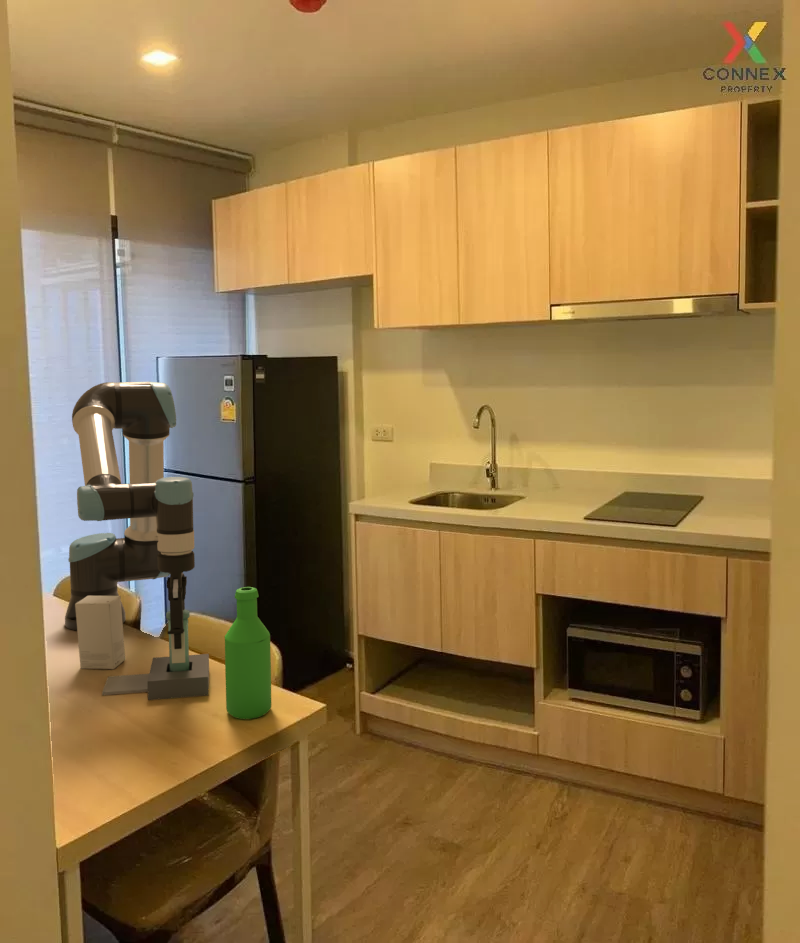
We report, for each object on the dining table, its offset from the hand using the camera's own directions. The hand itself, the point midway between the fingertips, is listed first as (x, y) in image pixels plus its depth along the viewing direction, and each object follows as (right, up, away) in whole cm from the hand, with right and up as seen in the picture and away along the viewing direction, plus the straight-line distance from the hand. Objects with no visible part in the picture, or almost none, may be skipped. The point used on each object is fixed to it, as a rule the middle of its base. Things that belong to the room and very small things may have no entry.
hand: (179, 658), depth 174 cm
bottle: (+17, -8, -13) cm, 23 cm away
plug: (0, -6, +1) cm, 6 cm away
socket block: (0, -6, +1) cm, 6 cm away
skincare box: (-21, -5, +12) cm, 25 cm away
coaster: (-11, -6, 0) cm, 13 cm away
